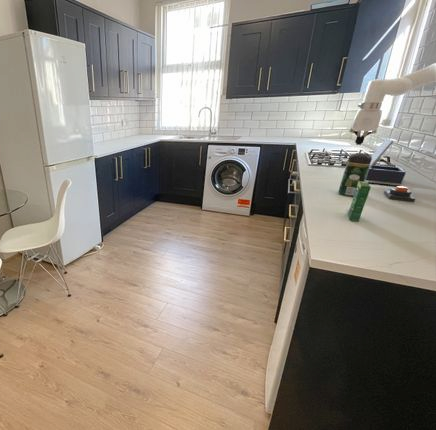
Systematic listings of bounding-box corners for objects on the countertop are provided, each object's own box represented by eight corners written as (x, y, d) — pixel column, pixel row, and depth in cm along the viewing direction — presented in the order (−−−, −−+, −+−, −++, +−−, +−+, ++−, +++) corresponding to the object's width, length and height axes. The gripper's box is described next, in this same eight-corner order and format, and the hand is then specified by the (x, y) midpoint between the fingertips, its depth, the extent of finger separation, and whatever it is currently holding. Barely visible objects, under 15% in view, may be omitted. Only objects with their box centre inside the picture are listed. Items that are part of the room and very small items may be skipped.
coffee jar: (339, 190, 134) (351, 151, 127) (360, 193, 129) (374, 153, 122) (336, 194, 128) (349, 153, 121) (358, 198, 123) (373, 156, 116)
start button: (394, 189, 124) (395, 185, 124) (405, 190, 123) (406, 186, 122) (396, 191, 122) (397, 187, 121) (407, 192, 120) (409, 188, 119)
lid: (388, 138, 142) (386, 137, 143) (394, 141, 133) (392, 140, 134) (366, 163, 150) (365, 163, 150) (370, 168, 141) (369, 167, 141)
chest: (393, 182, 147) (399, 167, 144) (399, 187, 138) (406, 172, 135) (360, 178, 153) (365, 164, 150) (364, 183, 144) (369, 168, 141)
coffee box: (347, 213, 107) (358, 180, 102) (356, 215, 105) (368, 181, 100) (348, 220, 101) (360, 185, 96) (358, 222, 99) (371, 186, 94)
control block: (383, 193, 129) (386, 186, 128) (407, 196, 125) (410, 188, 124) (388, 199, 121) (391, 191, 120) (413, 202, 118) (417, 194, 116)
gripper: (352, 106, 139) (341, 144, 146) (392, 107, 131) (378, 146, 138) (350, 106, 145) (339, 142, 152) (389, 106, 137) (375, 144, 144)
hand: (358, 144), depth 145 cm, fingers closed
